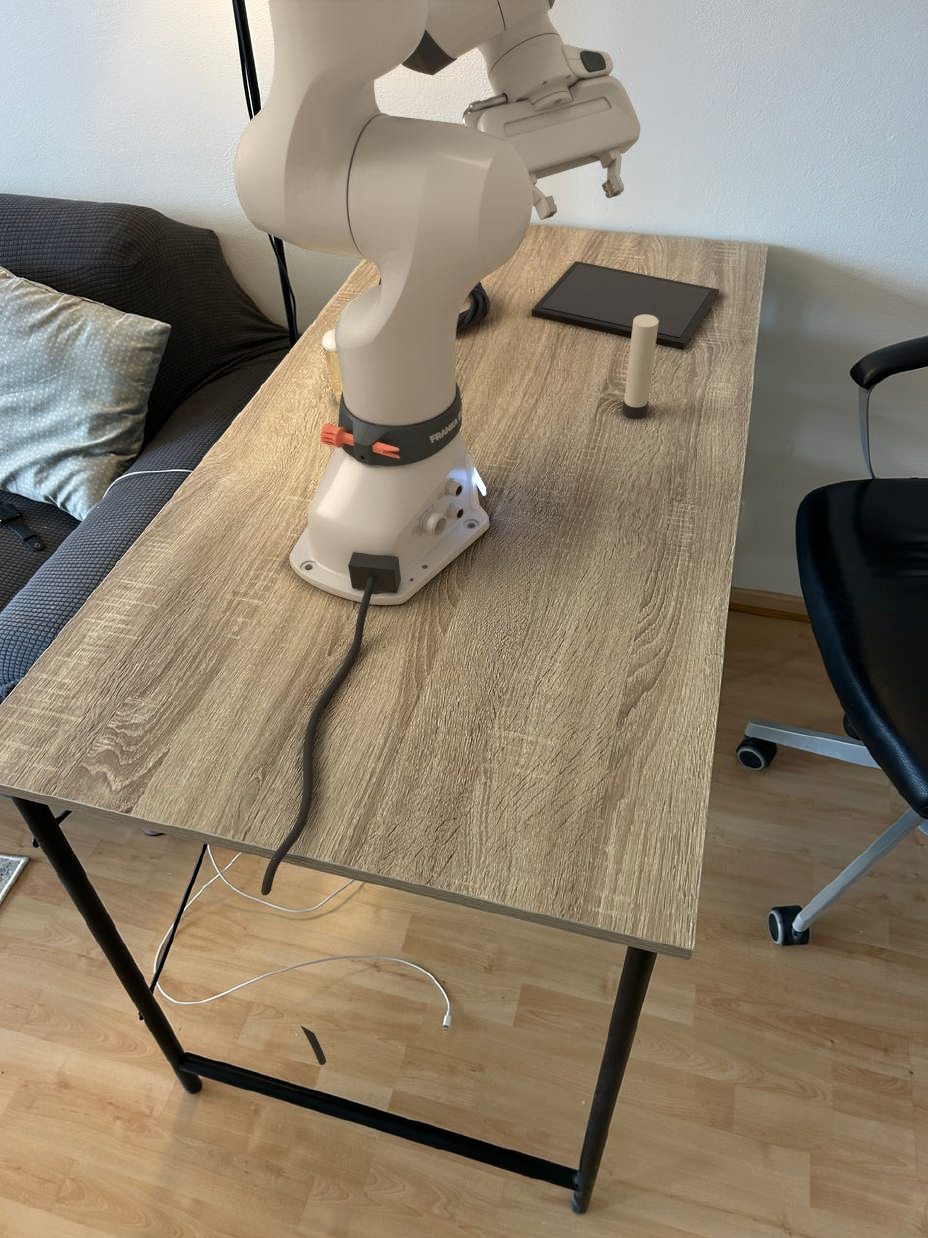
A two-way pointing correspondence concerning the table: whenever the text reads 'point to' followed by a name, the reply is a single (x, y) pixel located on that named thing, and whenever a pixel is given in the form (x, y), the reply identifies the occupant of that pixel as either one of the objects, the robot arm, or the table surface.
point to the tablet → (626, 302)
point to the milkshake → (332, 362)
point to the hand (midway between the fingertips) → (583, 205)
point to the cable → (473, 308)
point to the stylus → (640, 366)
